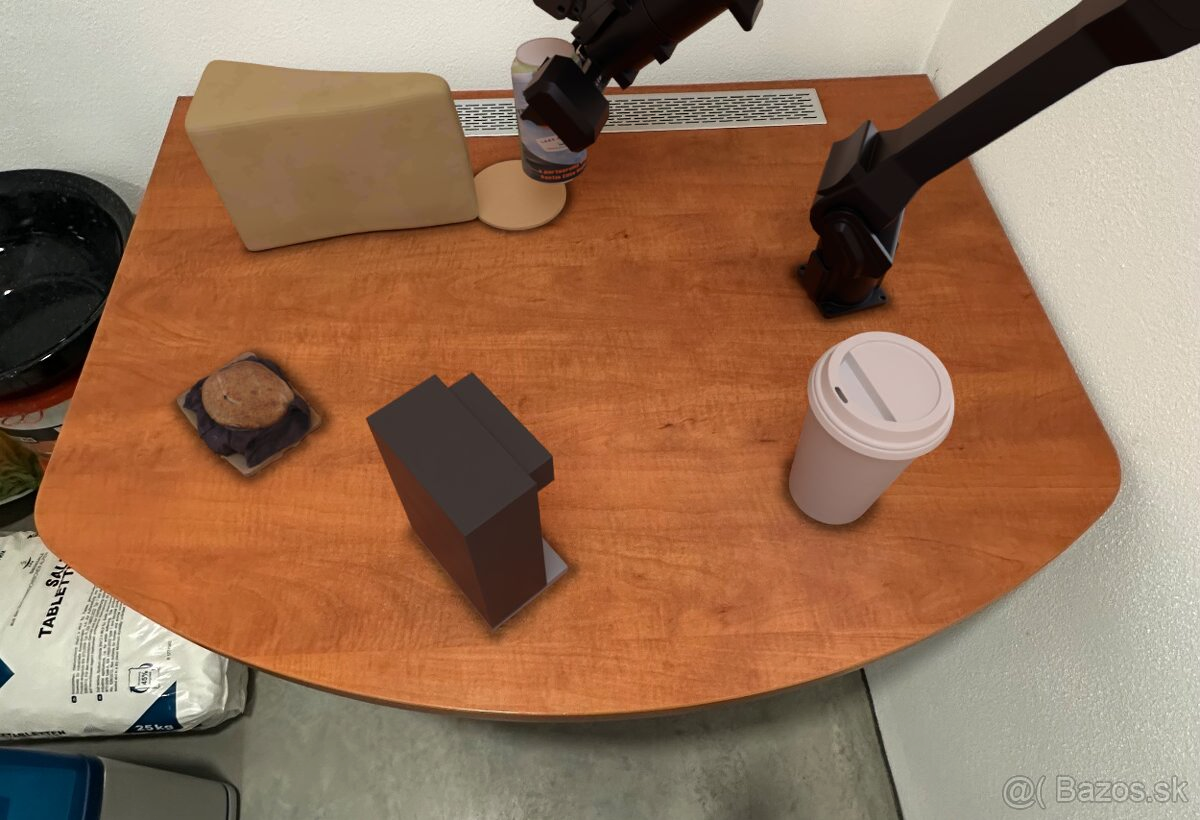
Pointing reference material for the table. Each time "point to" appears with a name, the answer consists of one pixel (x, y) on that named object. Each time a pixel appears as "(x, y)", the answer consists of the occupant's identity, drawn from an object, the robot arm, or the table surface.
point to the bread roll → (248, 413)
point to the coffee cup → (867, 422)
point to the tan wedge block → (330, 151)
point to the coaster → (516, 197)
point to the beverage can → (540, 144)
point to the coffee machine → (471, 491)
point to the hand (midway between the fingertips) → (537, 100)
